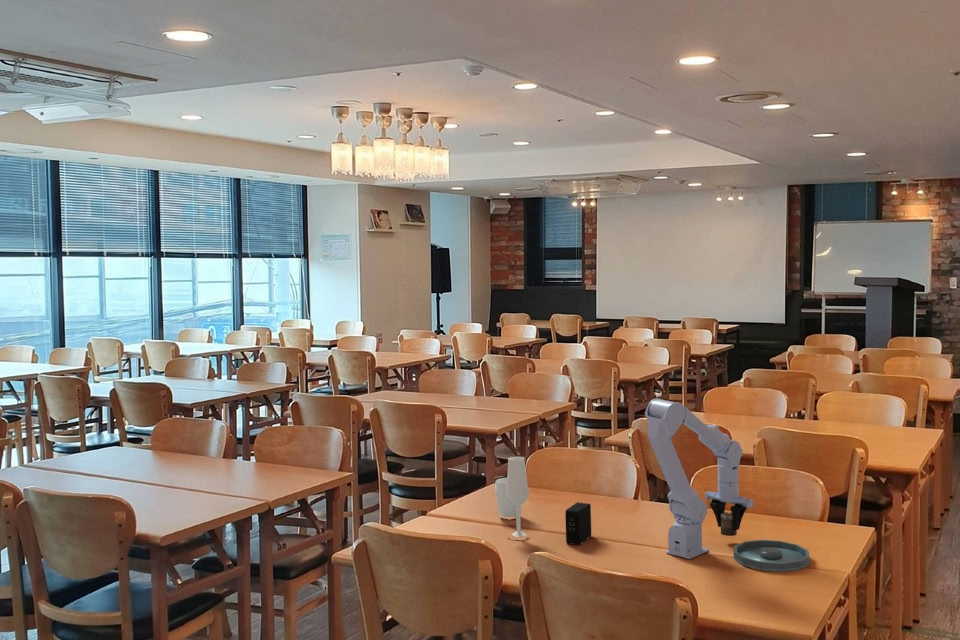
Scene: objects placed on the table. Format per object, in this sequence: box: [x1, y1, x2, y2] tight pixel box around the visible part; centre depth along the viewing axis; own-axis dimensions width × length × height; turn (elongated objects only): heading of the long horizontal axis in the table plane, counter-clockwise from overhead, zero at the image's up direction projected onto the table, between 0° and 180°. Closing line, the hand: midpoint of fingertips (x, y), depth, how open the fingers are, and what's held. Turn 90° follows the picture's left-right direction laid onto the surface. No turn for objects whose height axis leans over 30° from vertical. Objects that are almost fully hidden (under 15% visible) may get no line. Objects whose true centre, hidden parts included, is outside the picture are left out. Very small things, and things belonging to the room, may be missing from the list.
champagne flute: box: [506, 456, 530, 537], centre depth 269 cm, size 7×7×24 cm
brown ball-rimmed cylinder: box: [720, 511, 738, 537], centre depth 258 cm, size 4×4×6 cm
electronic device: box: [564, 502, 592, 546], centre depth 265 cm, size 4×10×10 cm, turn 152°
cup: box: [494, 477, 523, 517], centre depth 291 cm, size 9×9×12 cm
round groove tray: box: [733, 539, 810, 573], centre depth 243 cm, size 19×19×2 cm
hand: (728, 527), depth 258 cm, fingers closed on brown ball-rimmed cylinder, 4 cm apart
